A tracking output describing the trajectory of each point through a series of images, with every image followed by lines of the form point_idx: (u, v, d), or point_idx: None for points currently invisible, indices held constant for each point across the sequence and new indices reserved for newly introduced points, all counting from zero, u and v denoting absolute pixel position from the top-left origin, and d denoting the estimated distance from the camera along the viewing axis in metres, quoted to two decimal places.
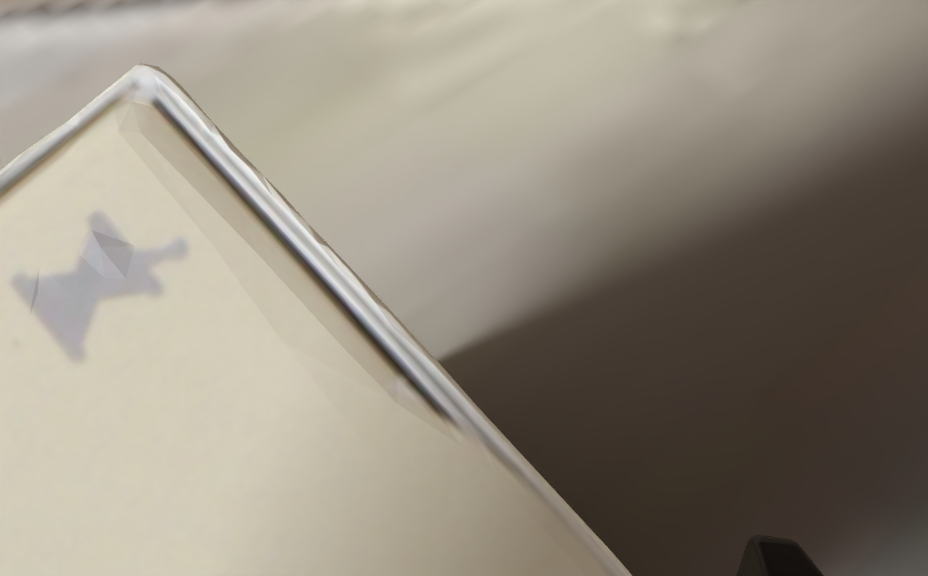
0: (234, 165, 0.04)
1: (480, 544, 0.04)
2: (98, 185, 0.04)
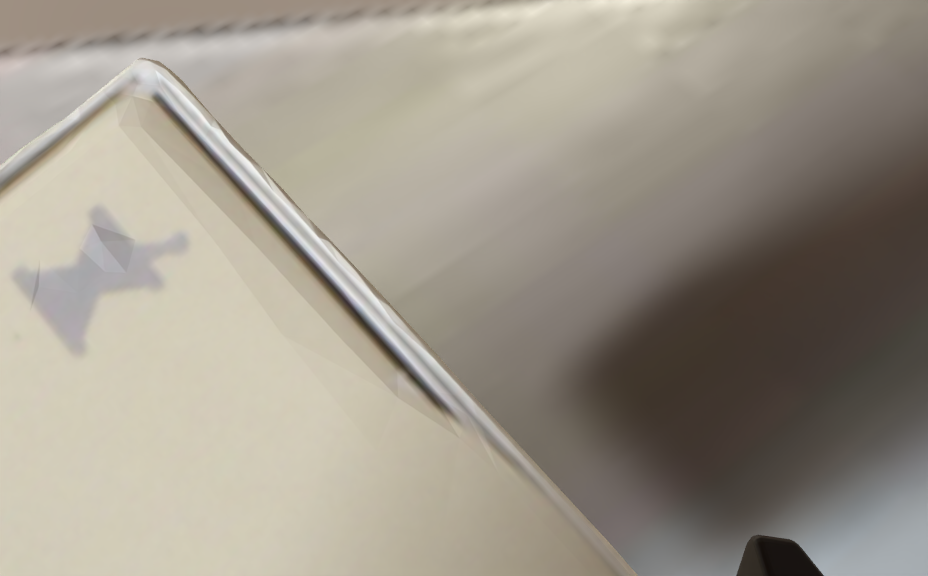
0: (234, 159, 0.04)
1: (480, 536, 0.04)
2: (98, 178, 0.04)
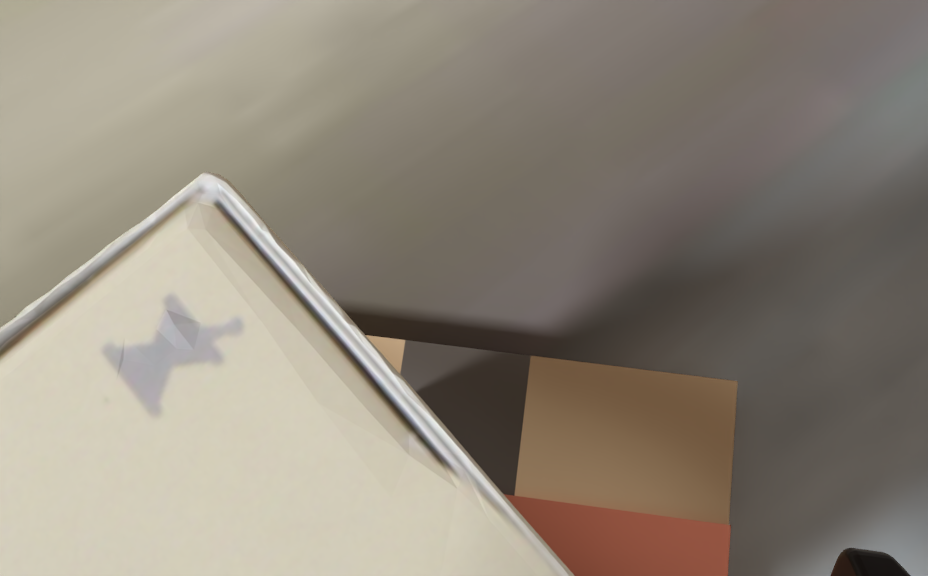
0: (280, 257, 0.05)
1: (473, 568, 0.05)
2: (169, 272, 0.05)
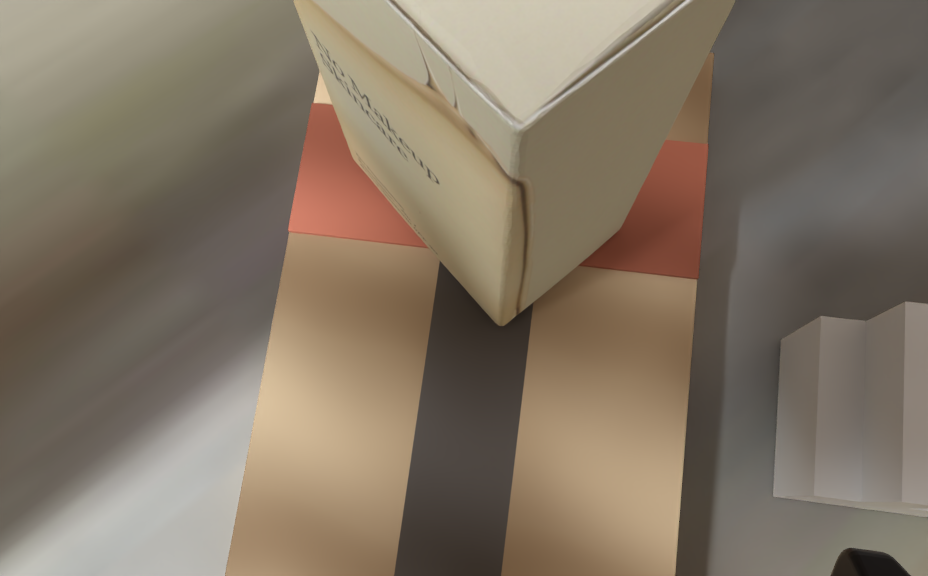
0: None
1: None
2: None
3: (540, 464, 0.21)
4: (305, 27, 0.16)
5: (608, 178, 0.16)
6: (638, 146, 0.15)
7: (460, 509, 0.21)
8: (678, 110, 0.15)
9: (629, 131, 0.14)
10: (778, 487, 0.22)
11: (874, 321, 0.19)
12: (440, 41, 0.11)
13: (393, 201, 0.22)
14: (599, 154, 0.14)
